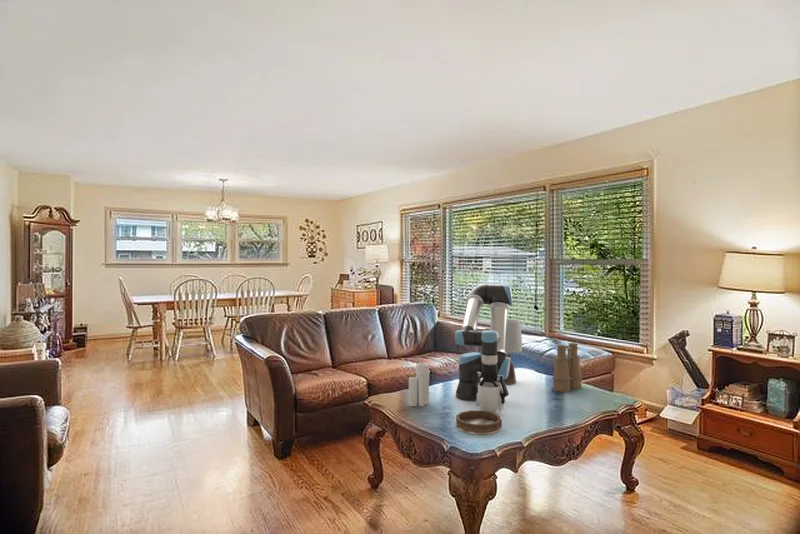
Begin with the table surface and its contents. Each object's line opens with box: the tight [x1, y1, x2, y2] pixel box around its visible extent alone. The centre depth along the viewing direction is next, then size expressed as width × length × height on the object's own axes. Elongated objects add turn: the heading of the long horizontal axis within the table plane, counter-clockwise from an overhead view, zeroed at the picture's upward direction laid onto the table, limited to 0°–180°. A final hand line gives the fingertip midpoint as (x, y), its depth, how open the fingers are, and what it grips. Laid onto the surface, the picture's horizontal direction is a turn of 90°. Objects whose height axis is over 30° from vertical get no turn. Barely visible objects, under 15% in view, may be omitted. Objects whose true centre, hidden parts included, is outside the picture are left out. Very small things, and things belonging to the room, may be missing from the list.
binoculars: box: [551, 342, 583, 393], centre depth 269 cm, size 21×10×25 cm, turn 125°
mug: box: [478, 382, 502, 414], centre depth 228 cm, size 15×11×13 cm
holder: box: [455, 410, 503, 435], centre depth 209 cm, size 20×20×4 cm
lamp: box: [497, 318, 523, 385], centre depth 282 cm, size 19×19×37 cm
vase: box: [408, 362, 430, 407], centre depth 240 cm, size 11×7×20 cm, turn 135°
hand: (489, 408), depth 227 cm, fingers closed on mug, 11 cm apart
